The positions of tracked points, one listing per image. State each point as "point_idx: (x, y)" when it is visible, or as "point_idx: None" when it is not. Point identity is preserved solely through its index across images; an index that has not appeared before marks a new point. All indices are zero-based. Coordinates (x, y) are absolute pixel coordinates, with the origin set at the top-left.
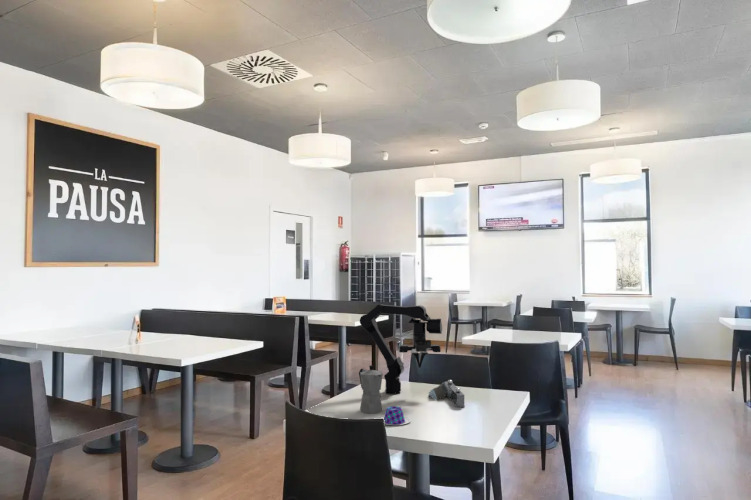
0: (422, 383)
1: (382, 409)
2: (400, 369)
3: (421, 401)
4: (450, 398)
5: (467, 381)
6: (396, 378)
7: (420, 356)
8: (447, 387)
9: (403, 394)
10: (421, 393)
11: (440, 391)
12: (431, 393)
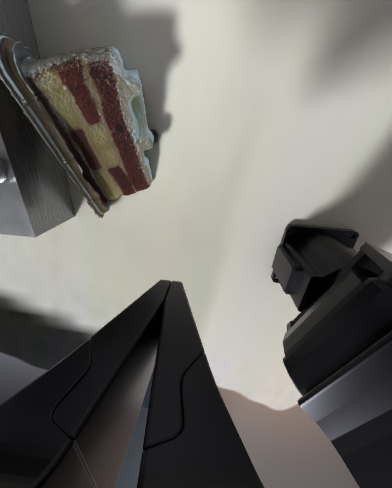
0: None
1: None
2: (388, 290)
3: (226, 2)
4: (32, 42)
5: (4, 347)
6: (338, 278)
7: (89, 471)
8: (21, 145)
9: (274, 211)
10: (182, 217)
11: (68, 53)
12: (139, 77)
